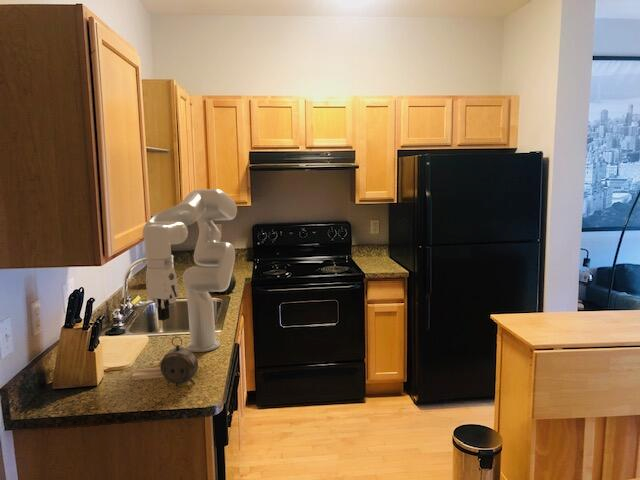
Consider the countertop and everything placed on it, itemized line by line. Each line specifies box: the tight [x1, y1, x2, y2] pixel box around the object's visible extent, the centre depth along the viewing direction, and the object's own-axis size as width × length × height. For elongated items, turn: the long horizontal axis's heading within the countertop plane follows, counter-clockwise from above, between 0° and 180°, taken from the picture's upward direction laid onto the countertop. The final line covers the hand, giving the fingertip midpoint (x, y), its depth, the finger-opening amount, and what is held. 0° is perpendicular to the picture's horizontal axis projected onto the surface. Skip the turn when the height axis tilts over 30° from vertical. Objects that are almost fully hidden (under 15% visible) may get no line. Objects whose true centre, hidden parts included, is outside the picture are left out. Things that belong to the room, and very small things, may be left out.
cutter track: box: [131, 366, 164, 381], centre depth 155 cm, size 5×17×4 cm, turn 100°
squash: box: [221, 272, 237, 293], centre depth 262 cm, size 14×15×15 cm
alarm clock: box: [159, 336, 199, 390], centre depth 146 cm, size 11×5×16 cm, turn 83°
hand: (164, 319), depth 150 cm, fingers closed
